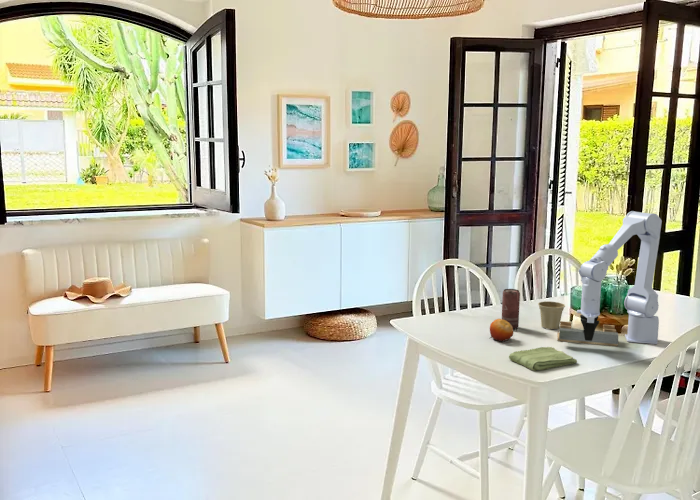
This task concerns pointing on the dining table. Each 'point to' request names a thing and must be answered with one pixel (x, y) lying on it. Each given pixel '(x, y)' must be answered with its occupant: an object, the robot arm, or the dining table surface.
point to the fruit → (501, 330)
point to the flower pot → (550, 314)
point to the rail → (579, 336)
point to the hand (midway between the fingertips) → (588, 338)
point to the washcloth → (541, 358)
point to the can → (511, 307)
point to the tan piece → (605, 329)
